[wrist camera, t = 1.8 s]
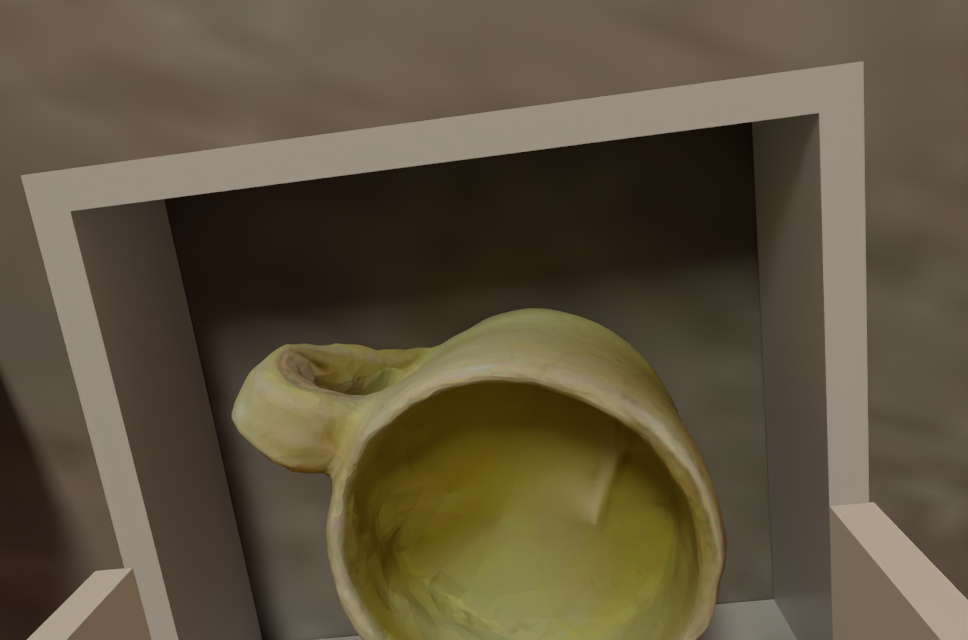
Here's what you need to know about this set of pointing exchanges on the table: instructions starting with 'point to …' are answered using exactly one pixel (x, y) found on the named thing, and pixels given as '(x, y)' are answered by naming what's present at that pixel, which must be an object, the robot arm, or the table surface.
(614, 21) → the table surface
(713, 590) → the mug
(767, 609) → the tub
